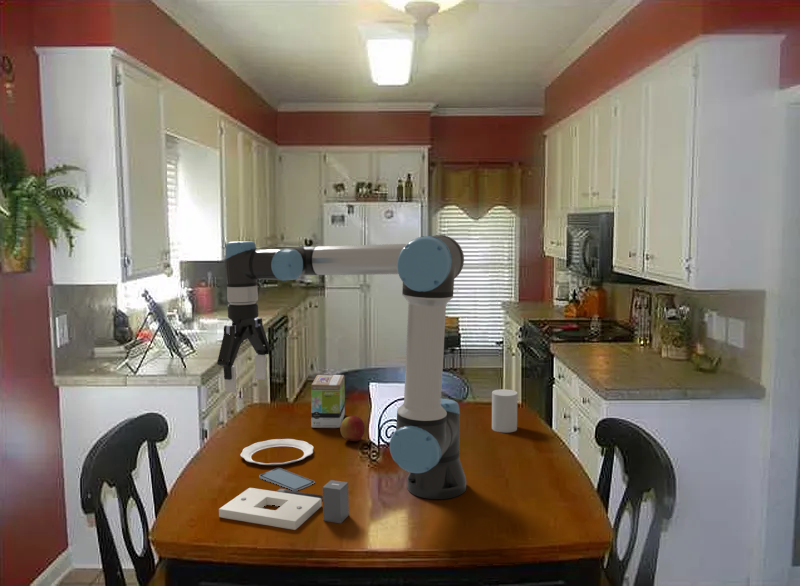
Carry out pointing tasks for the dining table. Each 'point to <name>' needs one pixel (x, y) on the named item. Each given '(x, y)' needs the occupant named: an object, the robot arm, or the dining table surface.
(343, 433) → the apple
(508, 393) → the white cylinder
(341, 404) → the tea box
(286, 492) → the cable
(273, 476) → the smartphone
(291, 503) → the outlet plate
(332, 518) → the block
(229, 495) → the dining table surface
